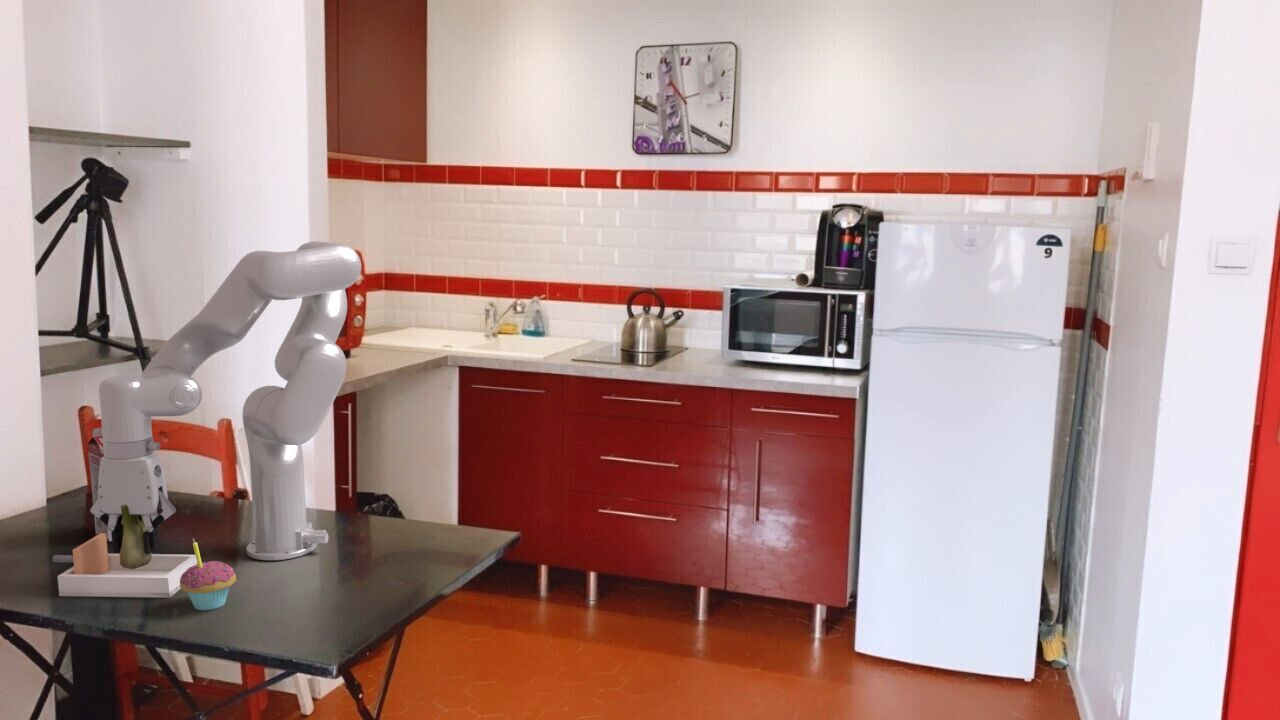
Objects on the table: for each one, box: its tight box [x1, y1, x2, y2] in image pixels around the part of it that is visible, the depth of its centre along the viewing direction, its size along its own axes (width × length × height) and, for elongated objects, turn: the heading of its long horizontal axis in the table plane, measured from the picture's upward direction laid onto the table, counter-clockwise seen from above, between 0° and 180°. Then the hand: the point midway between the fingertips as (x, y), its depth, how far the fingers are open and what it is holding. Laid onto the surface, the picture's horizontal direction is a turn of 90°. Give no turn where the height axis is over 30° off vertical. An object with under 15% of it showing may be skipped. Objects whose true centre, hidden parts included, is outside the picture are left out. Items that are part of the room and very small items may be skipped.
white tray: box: [57, 553, 197, 599], centre depth 177 cm, size 19×11×4 cm, turn 88°
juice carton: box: [87, 427, 112, 542], centre depth 202 cm, size 7×7×22 cm
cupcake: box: [180, 538, 237, 611], centre depth 168 cm, size 9×8×12 cm
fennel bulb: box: [119, 505, 153, 569], centre depth 175 cm, size 6×5×12 cm
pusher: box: [52, 533, 109, 575], centre depth 177 cm, size 7×8×7 cm
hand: (136, 550), depth 176 cm, fingers closed on fennel bulb, 4 cm apart
